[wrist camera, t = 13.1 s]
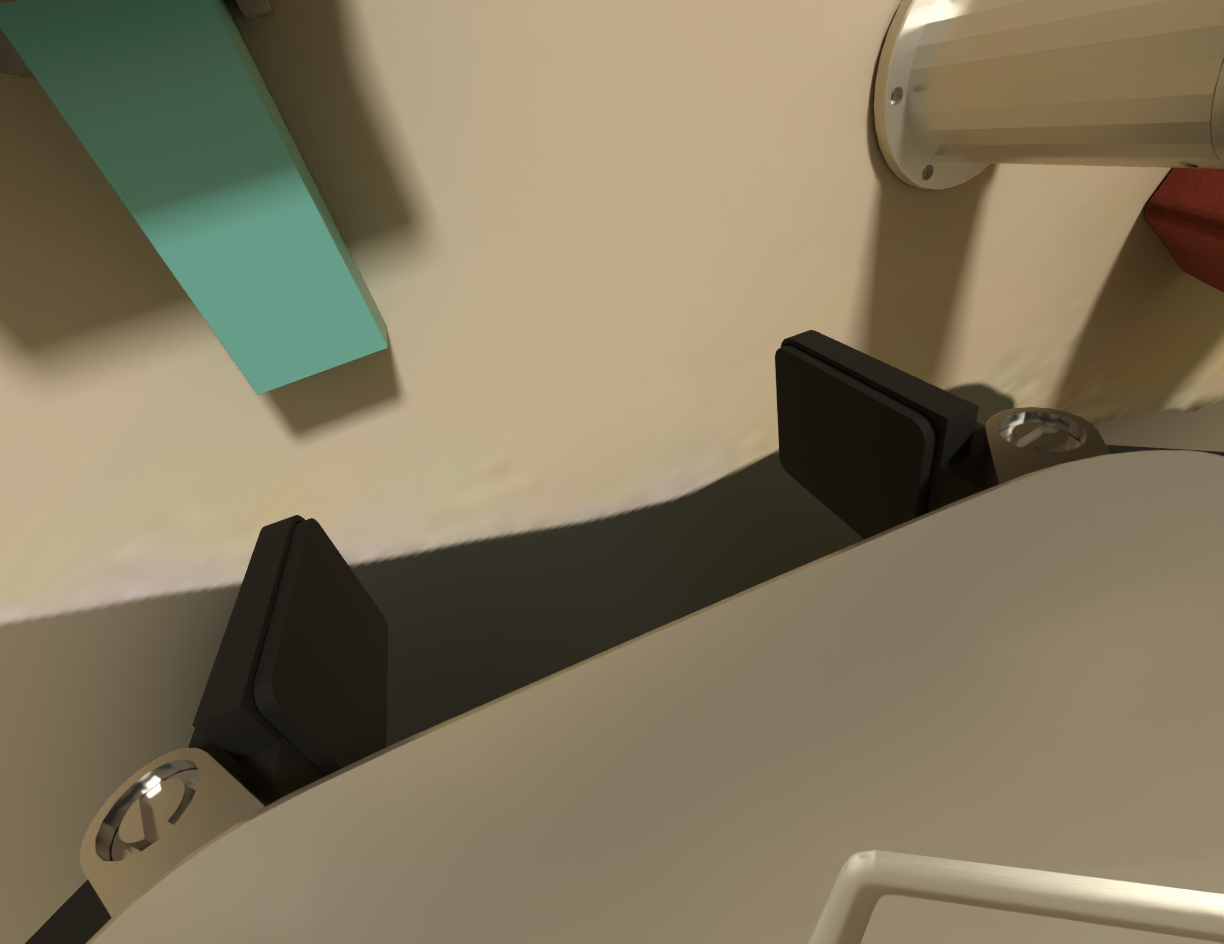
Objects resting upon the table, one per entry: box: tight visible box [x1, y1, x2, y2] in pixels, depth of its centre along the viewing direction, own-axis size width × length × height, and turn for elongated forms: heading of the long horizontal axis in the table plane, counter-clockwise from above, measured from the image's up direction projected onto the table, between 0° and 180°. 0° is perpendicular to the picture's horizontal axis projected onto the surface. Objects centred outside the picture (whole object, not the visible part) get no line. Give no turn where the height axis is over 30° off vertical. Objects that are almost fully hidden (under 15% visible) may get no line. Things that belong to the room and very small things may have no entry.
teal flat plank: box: [0, 0, 388, 395], centre depth 21 cm, size 6×18×4 cm, turn 15°
